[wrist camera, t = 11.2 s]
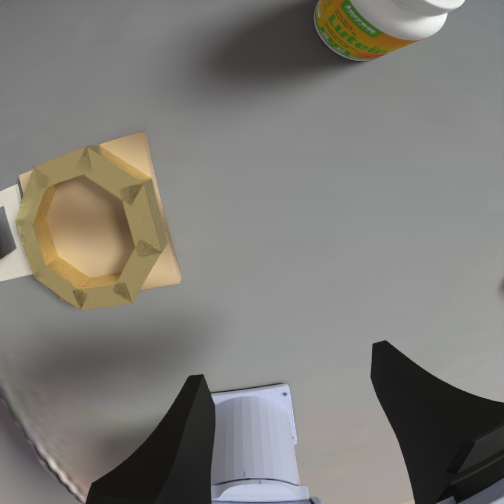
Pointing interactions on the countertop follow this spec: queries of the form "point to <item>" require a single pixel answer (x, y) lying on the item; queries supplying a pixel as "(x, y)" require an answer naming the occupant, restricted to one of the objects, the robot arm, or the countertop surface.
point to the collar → (137, 212)
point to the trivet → (17, 259)
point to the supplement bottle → (378, 24)
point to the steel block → (5, 235)
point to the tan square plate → (104, 221)
